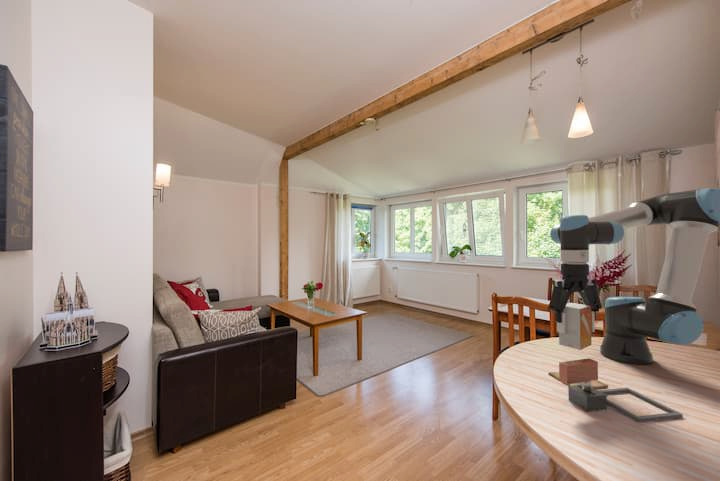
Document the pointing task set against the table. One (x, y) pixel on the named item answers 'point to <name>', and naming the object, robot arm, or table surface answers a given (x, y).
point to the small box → (576, 326)
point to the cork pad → (593, 383)
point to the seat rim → (669, 415)
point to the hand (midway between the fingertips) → (575, 331)
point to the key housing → (587, 398)
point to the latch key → (579, 372)
